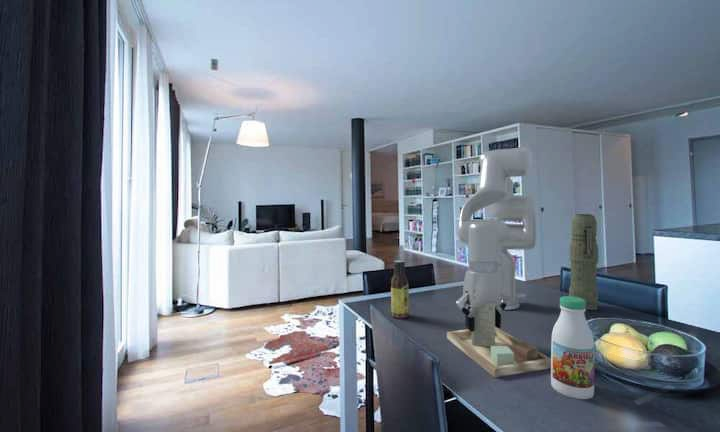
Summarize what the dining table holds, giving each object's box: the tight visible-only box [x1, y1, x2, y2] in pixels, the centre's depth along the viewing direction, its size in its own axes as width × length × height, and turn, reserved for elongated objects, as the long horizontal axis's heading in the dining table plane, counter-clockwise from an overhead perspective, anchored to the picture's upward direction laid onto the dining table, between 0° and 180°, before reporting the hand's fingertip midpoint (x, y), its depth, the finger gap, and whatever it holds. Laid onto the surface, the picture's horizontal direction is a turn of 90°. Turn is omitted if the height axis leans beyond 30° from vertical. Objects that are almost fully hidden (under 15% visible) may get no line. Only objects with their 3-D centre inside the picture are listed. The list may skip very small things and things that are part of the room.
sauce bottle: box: [390, 259, 410, 319], centre depth 116 cm, size 6×6×20 cm
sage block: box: [491, 346, 514, 366], centre depth 79 cm, size 4×4×4 cm
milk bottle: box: [550, 295, 595, 400], centre depth 69 cm, size 8×8×20 cm
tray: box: [446, 327, 551, 378], centre depth 86 cm, size 16×22×2 cm
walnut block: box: [512, 341, 539, 363], centre depth 80 cm, size 4×4×4 cm
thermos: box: [568, 213, 599, 311], centre depth 121 cm, size 9×12×35 cm
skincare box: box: [472, 303, 495, 347], centre depth 91 cm, size 6×4×12 cm
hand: (483, 327), depth 91 cm, fingers open, 7 cm apart
